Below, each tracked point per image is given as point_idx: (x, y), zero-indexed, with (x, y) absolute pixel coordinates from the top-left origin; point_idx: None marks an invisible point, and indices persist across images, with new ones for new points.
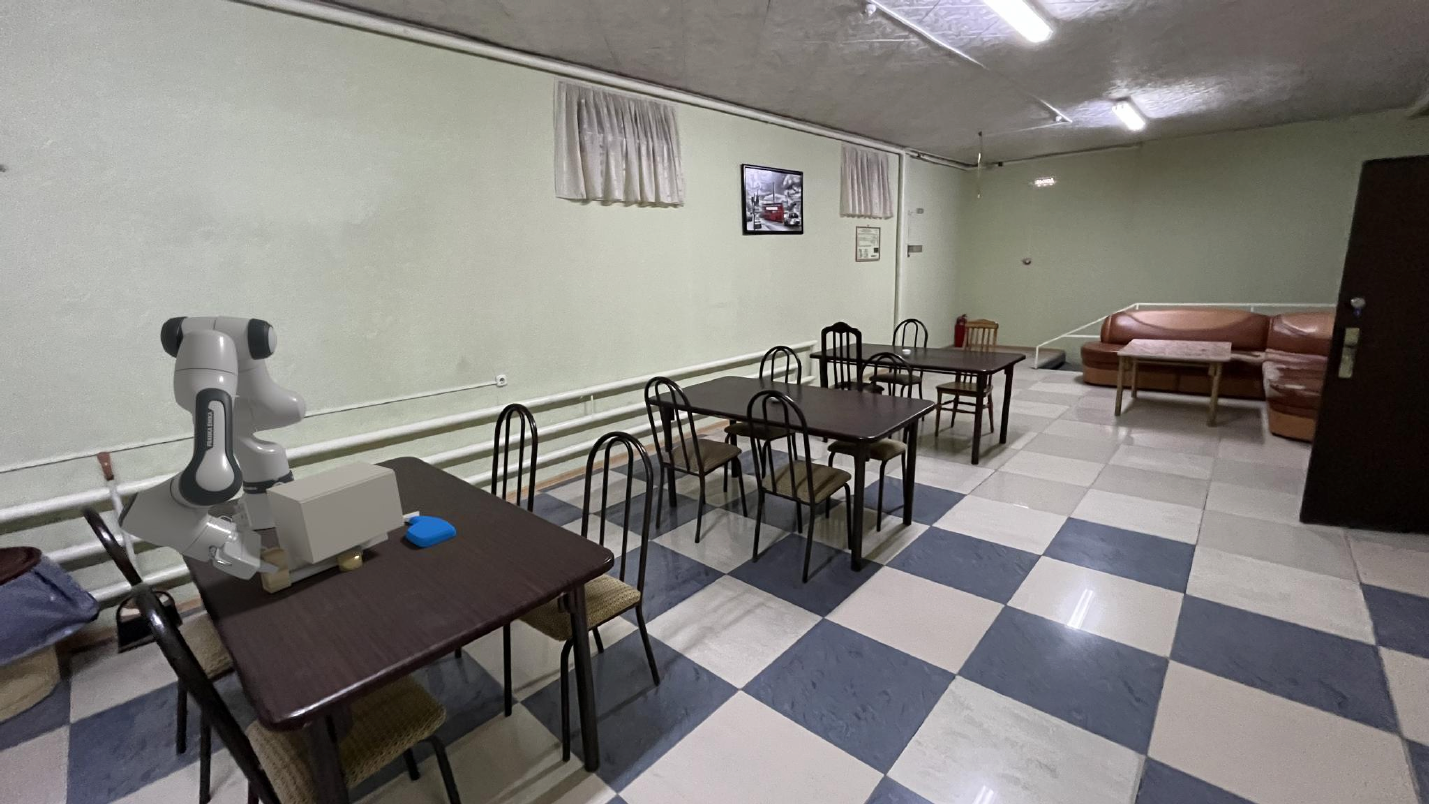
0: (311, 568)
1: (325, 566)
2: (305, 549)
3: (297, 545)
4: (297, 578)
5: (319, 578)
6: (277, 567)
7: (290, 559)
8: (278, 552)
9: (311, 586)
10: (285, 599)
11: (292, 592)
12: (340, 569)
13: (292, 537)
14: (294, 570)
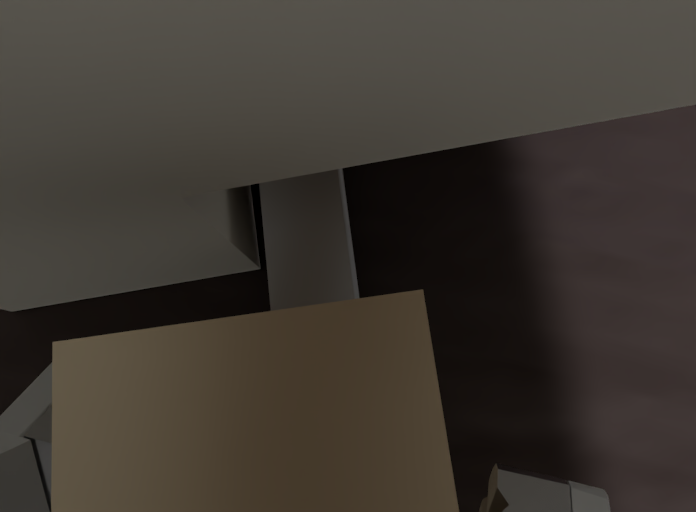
0: None
1: None
2: (622, 14)
3: (315, 67)
4: (358, 297)
5: (432, 165)
6: (609, 505)
7: (80, 250)
8: (435, 409)
9: (536, 249)
10: (613, 475)
11: (515, 392)
12: None
13: (119, 7)
14: (308, 285)
